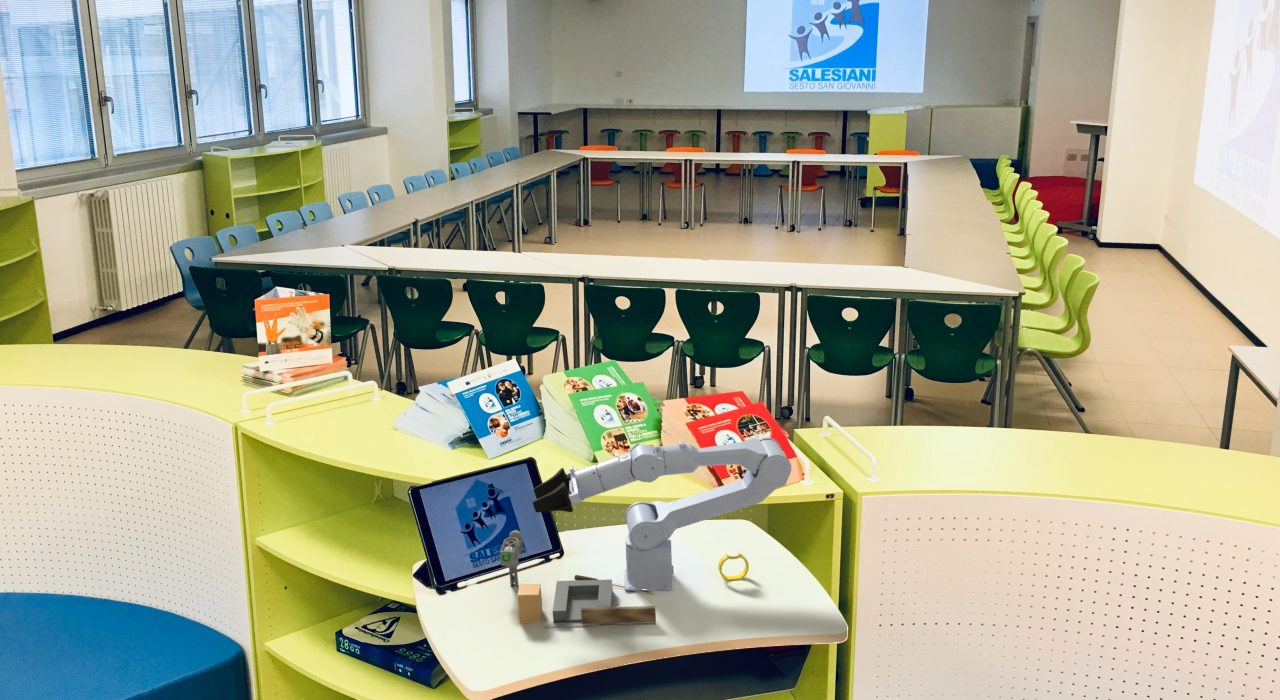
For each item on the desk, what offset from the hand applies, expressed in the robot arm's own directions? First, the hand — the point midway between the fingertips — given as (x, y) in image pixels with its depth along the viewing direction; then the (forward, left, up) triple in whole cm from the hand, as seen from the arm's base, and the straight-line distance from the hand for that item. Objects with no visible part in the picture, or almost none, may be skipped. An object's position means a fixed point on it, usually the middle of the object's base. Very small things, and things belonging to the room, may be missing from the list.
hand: (534, 500), depth 213 cm
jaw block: (+1, +10, -20) cm, 22 cm away
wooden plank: (-16, +13, -19) cm, 28 cm away
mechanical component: (+6, -2, -20) cm, 21 cm away
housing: (-12, +7, -20) cm, 25 cm away
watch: (-39, -2, -20) cm, 44 cm away
